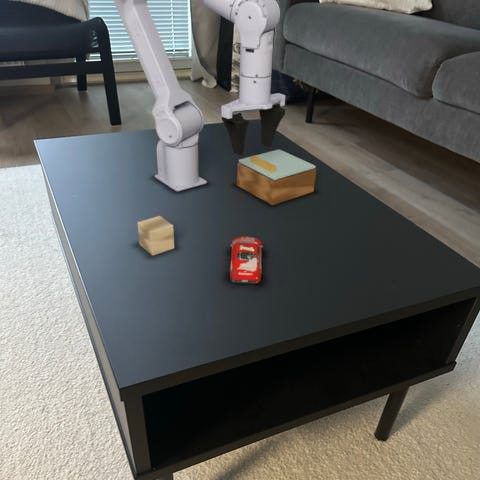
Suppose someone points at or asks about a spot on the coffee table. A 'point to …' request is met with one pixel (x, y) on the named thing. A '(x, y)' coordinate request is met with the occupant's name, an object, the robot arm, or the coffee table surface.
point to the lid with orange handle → (277, 164)
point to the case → (275, 184)
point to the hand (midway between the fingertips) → (252, 149)
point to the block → (156, 235)
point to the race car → (245, 260)
